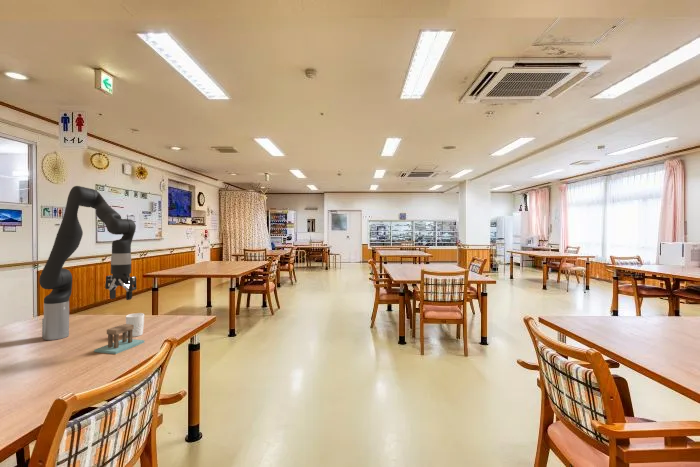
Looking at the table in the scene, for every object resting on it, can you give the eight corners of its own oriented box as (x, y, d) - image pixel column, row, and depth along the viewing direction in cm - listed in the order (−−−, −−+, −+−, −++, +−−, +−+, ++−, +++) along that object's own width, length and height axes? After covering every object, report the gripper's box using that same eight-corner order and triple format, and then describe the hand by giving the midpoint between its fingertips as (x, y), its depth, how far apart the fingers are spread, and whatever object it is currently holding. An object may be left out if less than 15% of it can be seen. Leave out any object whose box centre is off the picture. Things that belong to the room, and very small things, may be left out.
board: (94, 351, 141) (94, 349, 141) (124, 340, 156) (124, 338, 156) (115, 354, 139) (115, 351, 139) (144, 342, 154) (144, 340, 154)
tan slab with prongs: (124, 341, 153) (124, 323, 153) (133, 341, 152) (133, 324, 152) (106, 347, 144) (106, 329, 144) (116, 348, 143) (116, 330, 143)
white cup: (135, 337, 160) (135, 317, 160) (121, 336, 162) (121, 316, 162) (147, 333, 168) (148, 313, 168) (134, 331, 170) (135, 312, 170)
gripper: (141, 263, 150) (141, 298, 150) (115, 261, 153) (114, 296, 153) (127, 264, 142) (126, 301, 142) (100, 263, 145) (99, 299, 145)
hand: (120, 299), depth 148 cm, fingers open, 8 cm apart
